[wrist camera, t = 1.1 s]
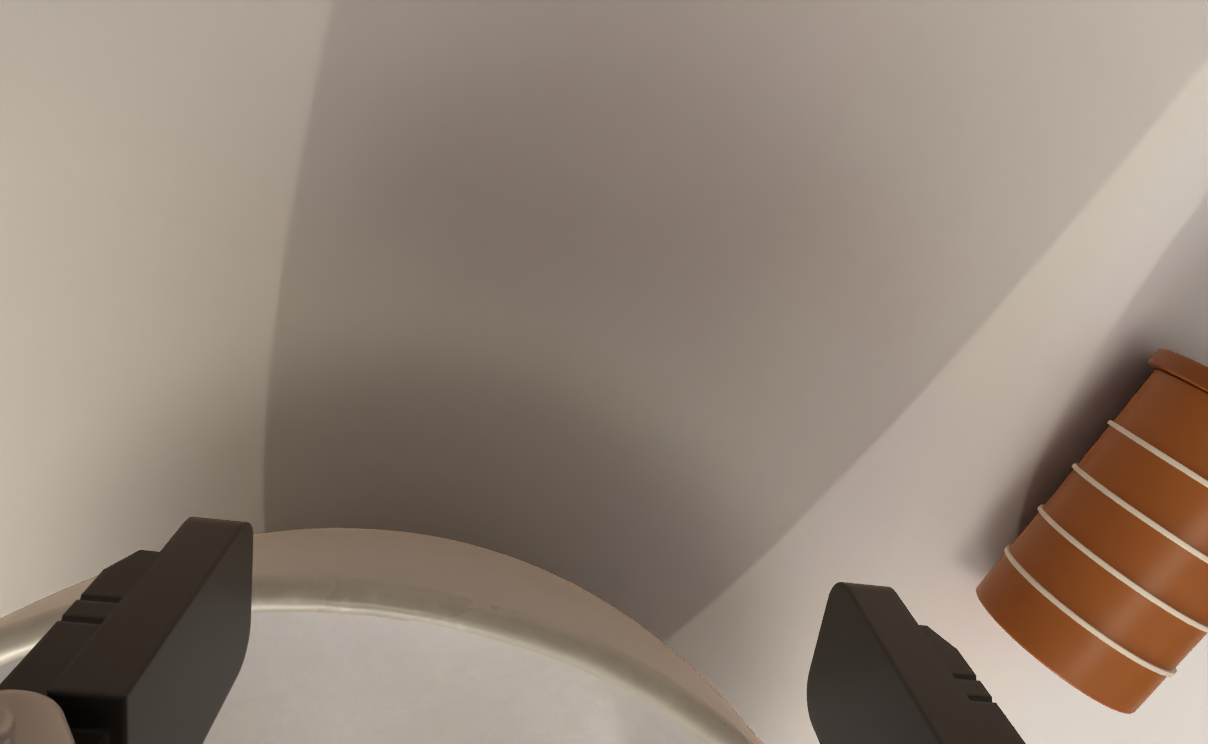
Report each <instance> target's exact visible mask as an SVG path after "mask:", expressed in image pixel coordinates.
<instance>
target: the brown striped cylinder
mask: <svg viewBox="0 0 1208 744" xmlns="http://www.w3.org/2000/svg"><path fill="white" fill-rule="evenodd" d="M1148 364H1149V365H1150V367H1151V368H1152V369H1154V370H1155V371H1154V372H1153V373H1152V374H1151V375H1150V377H1149V378H1148V379H1147V380H1146V382H1145V383H1144V384H1143V385H1142V386H1141V388H1140V389H1139V390H1138V391H1137V393H1136V394H1135V395H1134V396H1133V397H1132V399H1131V400H1130V401H1129V402H1128V404H1127V405H1126V406H1125V407H1124V408H1123V410H1122V411H1121V412H1120V413H1119V415H1118V416H1117V417H1116V418H1115V419H1114V421H1112V420H1109V421H1108V423H1107V424H1109V425H1110V426H1109V427H1108V428H1107V429H1106V430H1105V432H1104V433H1103V434H1102V435H1101V436H1100V438H1099V439H1098V440H1097V441H1096V443H1095V444H1094V445H1093V446H1092V447H1091V449H1090V450H1089V451H1088V452H1087V454H1086V455H1085V456H1084V457H1083V458H1082V460H1081V461H1080V462H1079V463H1074V464H1073V465H1072V468H1073V471H1072V472H1071V473H1070V474H1069V476H1068V477H1067V478H1066V479H1065V480H1064V482H1063V483H1062V484H1061V485H1060V487H1059V488H1058V489H1057V490H1056V491H1055V493H1054V494H1053V495H1052V496H1051V498H1050V499H1049V500H1048V501H1047V502H1046V504H1045V505H1044V504H1041V505H1040V506H1039V507H1038V511H1039V512H1038V513H1037V515H1036V516H1035V517H1034V518H1033V520H1032V521H1031V522H1030V523H1029V524H1028V526H1027V527H1026V528H1025V529H1024V531H1023V532H1022V533H1021V534H1020V535H1019V537H1018V538H1017V539H1016V540H1015V542H1014V543H1013V544H1009V545H1007V546H1006V547H1005V549H1004V552H1005V554H1004V555H1003V556H1002V557H1001V559H1000V560H999V561H998V562H997V564H996V565H995V566H994V567H993V568H992V570H991V571H990V572H989V573H988V574H987V576H986V577H985V578H984V579H983V581H982V582H981V583H980V584H979V585H978V587H977V589H976V593H977V596H978V598H979V600H980V602H981V603H982V605H983V606H984V607H985V609H986V610H987V611H988V613H989V614H990V615H991V616H992V617H993V618H994V620H995V621H996V622H997V623H998V624H999V625H1000V626H1001V627H1002V628H1003V629H1004V630H1005V631H1006V632H1007V633H1008V634H1009V635H1010V636H1011V637H1012V638H1013V639H1014V640H1015V641H1016V642H1018V643H1019V644H1020V645H1021V646H1022V647H1023V648H1024V649H1025V650H1027V651H1028V652H1029V653H1030V654H1031V655H1032V656H1034V657H1035V658H1036V659H1037V660H1039V661H1040V662H1041V663H1042V664H1044V665H1045V666H1046V667H1047V668H1049V669H1050V670H1051V671H1053V672H1054V673H1055V674H1057V675H1058V676H1059V677H1061V678H1062V679H1063V680H1065V681H1066V682H1068V683H1069V684H1070V685H1072V686H1073V687H1075V688H1076V689H1078V690H1079V691H1081V692H1082V693H1084V694H1086V695H1087V696H1089V697H1091V698H1092V699H1094V700H1096V701H1098V702H1099V703H1101V704H1103V705H1105V706H1107V707H1109V708H1111V709H1114V710H1116V711H1119V712H1122V713H1126V714H1131V713H1133V712H1135V711H1136V710H1137V709H1138V708H1139V706H1140V705H1141V704H1142V703H1143V702H1144V701H1145V700H1146V699H1147V698H1148V697H1149V696H1150V695H1151V693H1152V692H1153V691H1154V690H1155V689H1156V688H1157V687H1158V686H1159V685H1160V684H1161V683H1162V681H1163V680H1164V679H1165V678H1166V677H1167V676H1168V677H1171V676H1173V675H1174V674H1175V673H1176V671H1177V670H1176V666H1177V665H1178V664H1179V663H1180V662H1181V661H1182V660H1183V659H1184V658H1185V657H1186V655H1187V654H1188V653H1189V652H1190V651H1191V650H1192V649H1193V648H1194V647H1195V646H1196V645H1197V644H1198V642H1199V641H1200V640H1201V639H1202V638H1203V637H1204V636H1205V635H1206V634H1207V633H1208V367H1206V366H1204V365H1202V364H1200V363H1198V362H1196V361H1193V360H1191V359H1189V358H1187V357H1185V356H1182V355H1180V354H1178V353H1175V352H1173V351H1170V350H1167V349H1162V348H1160V349H1158V351H1157V352H1156V353H1155V354H1154V356H1153V357H1152V358H1151V359H1150V360H1149V362H1148Z"/></svg>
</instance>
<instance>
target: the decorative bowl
mask: <svg viewBox="0 0 1208 744" xmlns="http://www.w3.org/2000/svg"><path fill="white" fill-rule="evenodd" d="M96 578H97V576H96V577H93V578H91V579H88V580H86V581H83V582H81V583H78V584H76V585H74V586H71V587H69V588H67V589H64V590H62V591H60V592H57V593H55V594H53V595H50V596H48V597H46V598H43V599H41V600H39V601H37V602H34V603H32V604H30V605H28V606H26V607H23V608H21V609H19V610H17V611H15V612H13V613H11V614H9V615H7V616H5V617H3V618H1V619H0V684H1V683H2V681H3V680H4V679H5V678H6V677H7V676H8V675H9V674H10V673H11V672H12V670H13V669H14V668H15V667H16V666H17V665H18V664H19V663H20V662H21V660H22V659H23V658H24V657H25V656H26V655H27V654H28V653H29V652H30V651H31V649H32V648H33V647H34V646H35V645H36V644H37V643H38V642H39V641H40V639H41V638H42V637H43V636H44V635H45V634H46V633H47V632H48V631H49V630H50V628H51V627H52V626H53V625H54V624H55V623H56V622H57V621H61V619H62V615H63V614H64V613H65V612H66V611H67V610H68V609H69V607H70V606H71V605H72V604H73V603H74V602H75V601H76V600H80V598H81V594H82V593H83V592H84V591H85V590H86V589H87V588H88V586H89V585H90V584H91V583H92V582H93V581H94V580H95V579H96ZM203 744H763V742H762V741H761V740H760V739H759V738H758V737H757V736H756V734H755V733H754V732H753V731H752V730H751V729H750V728H749V726H748V725H747V724H746V723H745V722H744V721H743V720H742V718H741V717H740V716H739V715H738V714H737V713H736V712H735V710H734V709H733V708H732V707H731V706H730V705H729V704H728V703H727V702H726V701H725V699H724V698H723V697H722V696H721V695H720V694H719V693H718V692H717V691H716V690H715V689H714V688H713V687H712V686H711V685H710V684H709V683H708V682H707V681H706V680H705V679H703V678H702V677H701V676H700V675H699V674H698V673H697V672H696V671H695V670H694V669H693V668H692V667H691V666H690V665H689V664H688V663H687V662H686V661H684V660H683V659H682V658H681V657H680V656H679V655H678V654H676V653H675V652H674V651H673V650H672V649H670V648H669V647H668V646H667V645H665V644H664V643H663V642H662V641H660V640H659V639H658V638H657V637H655V636H654V635H653V634H652V633H650V632H649V631H648V630H646V629H645V628H644V627H642V626H641V625H640V624H638V623H637V622H635V621H634V620H632V619H631V618H629V617H628V616H626V615H625V614H623V613H622V612H620V611H619V610H617V609H616V608H615V607H613V606H611V605H610V604H608V603H607V602H605V601H603V600H602V599H600V598H598V597H596V596H595V595H593V594H591V593H589V592H588V591H586V590H584V589H582V588H581V587H579V586H577V585H575V584H573V583H571V582H569V581H567V580H565V579H563V578H561V577H559V576H556V575H554V574H552V573H550V572H548V571H546V570H544V569H542V568H539V567H537V566H534V565H532V564H529V563H526V562H524V561H521V560H519V559H516V558H513V557H511V556H508V555H505V554H502V553H498V552H495V551H492V550H489V549H485V548H482V547H479V546H476V545H472V544H468V543H463V542H459V541H455V540H450V539H446V538H442V537H436V536H430V535H423V534H417V533H411V532H403V531H392V530H381V529H365V528H317V529H296V530H287V531H278V532H269V533H260V534H253V569H252V602H251V627H250V636H249V642H248V647H247V651H246V655H245V658H244V662H243V665H242V667H241V670H240V672H239V674H238V676H237V678H236V680H235V682H234V684H233V686H232V688H231V690H230V692H229V694H228V696H227V698H226V700H225V702H224V703H223V705H222V707H221V709H220V711H219V713H218V715H217V717H216V719H215V721H214V723H213V725H212V727H211V729H210V731H209V732H208V734H207V736H206V738H205V740H204V742H203Z"/></svg>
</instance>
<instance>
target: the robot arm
mask: <svg viewBox="0 0 1208 744" xmlns="http://www.w3.org/2000/svg"><path fill="white" fill-rule="evenodd" d="M252 569H253V530H252V526H251V524H250V523H248V522H240V521H230V520H220V519H210V518H200V517H190V518H188V519H187V520H186V521H185V522H184V523H183V525H182V526H181V527H180V528H179V529H178V531H177V532H176V533H175V534H174V536H173V537H172V538H171V539H170V540H169V542H168V543H167V544H166V545H165V547H164V548H163V549H162V550H161V551H160V552H155V551H144V550H139V551H137V552H135V553H133V554H132V555H130V556H128V557H126V558H124V559H122V560H121V561H119V562H117V563H115V564H113V565H111V566H110V567H108V568H106V569H104V570H103V571H102V572H101V573H100V574H99V575H98V576H97V578H96V579H95V580H94V581H93V582H92V583H91V584H90V585H89V586H88V588H87V589H86V590H85V591H84V592H83V593H82V594H81V598H80V600H76V601H75V602H74V603H73V604H72V605H71V606H70V607H69V609H68V610H67V611H66V612H65V613H64V614H63V615H62V619H61V621H57V622H56V623H55V624H54V625H53V626H52V627H51V628H50V630H49V631H48V632H47V633H46V634H45V635H44V636H43V637H42V638H41V639H40V641H39V642H38V643H37V644H36V645H35V646H34V647H33V648H32V649H31V651H30V652H29V653H28V654H27V655H26V656H25V657H24V658H23V659H22V660H21V662H20V663H19V664H18V665H17V666H16V667H15V668H14V669H13V670H12V672H11V673H10V674H9V675H8V676H7V677H6V678H5V679H4V680H3V681H2V683H1V684H0V744H203V742H204V740H205V738H206V736H207V734H208V732H209V731H210V729H211V727H212V725H213V723H214V721H215V719H216V717H217V715H218V713H219V711H220V709H221V707H222V705H223V703H224V702H225V700H226V698H227V696H228V694H229V692H230V690H231V688H232V686H233V684H234V682H235V680H236V678H237V676H238V674H239V672H240V670H241V667H242V665H243V662H244V658H245V655H246V651H247V647H248V642H249V636H250V627H251V602H252ZM807 705H808V712H809V716H810V720H811V723H812V725H813V728H814V730H815V733H816V735H817V737H818V740H819V742H820V744H1025V742H1024V741H1023V739H1022V738H1021V737H1020V735H1019V734H1018V733H1017V731H1016V730H1015V728H1014V727H1013V726H1012V724H1011V723H1010V722H1009V720H1008V719H1007V717H1006V716H1005V715H1004V713H1003V712H1002V711H1001V709H1000V708H999V706H998V705H997V704H996V703H992V697H991V695H990V694H989V693H988V691H987V690H986V688H985V687H984V686H983V684H982V683H981V682H980V681H976V675H975V673H974V672H973V671H972V669H971V668H970V666H969V665H968V664H967V662H966V661H965V660H964V658H963V657H962V655H961V654H960V653H959V651H958V650H957V649H956V648H955V647H953V646H952V645H951V644H949V643H948V642H947V641H946V640H944V639H943V638H942V637H941V636H939V635H938V634H937V633H935V632H934V631H933V630H932V629H930V628H929V627H928V626H924V625H918V624H917V622H916V621H915V619H914V618H913V616H912V615H911V613H910V612H909V611H908V609H907V608H906V606H905V605H904V603H903V602H902V600H901V599H900V597H899V596H898V595H897V593H896V592H895V591H894V589H892V588H890V587H885V586H875V585H864V584H854V583H844V582H838V583H836V584H835V585H834V586H833V588H832V590H831V592H830V594H829V597H828V601H827V605H826V609H825V612H824V616H823V620H822V624H821V628H820V632H819V636H818V640H817V644H816V648H815V651H814V655H813V659H812V663H811V667H810V671H809V676H808V682H807Z"/></svg>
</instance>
